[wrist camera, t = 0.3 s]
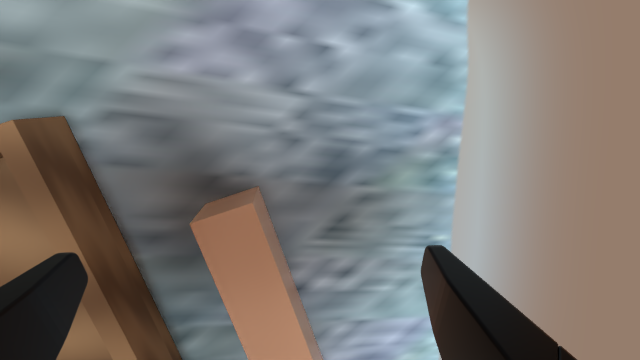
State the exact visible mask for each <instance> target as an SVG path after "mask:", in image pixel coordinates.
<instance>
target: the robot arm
mask: <svg viewBox="0 0 640 360" xmlns="http://www.w3.org/2000/svg"><path fill="white" fill-rule="evenodd" d="M421 277H422V282H423V287H424V292H425V297H426V301H427V306H428V311H429V316H430V321H431V325H432V330H433V333H434V337H435V340H436V343H437V346H438V349H439V352H440V355H441V358H442V360H577V359H576V358H575V357H573V356H572V355H571V354H570V353H569V352H567V351H566V350H565V349H564V348H563V347H562V346H558V344H557V342H555V341H554V340H553V339H552V338H551V337H550V336H548V335H547V334H546V333H545V332H544V331H543V330H541V329H540V328H539V327H538V326H536V324H534V323H533V322H532V321H531V320H530V319H528V318H527V317H526V316H525V315H524V314H523V313H521V312H520V311H519V310H518V309H517V308H516V307H514V306H513V305H512V304H511V303H509V301H507V300H506V299H505V298H504V297H503V296H501V295H500V294H499V293H498V292H497V291H496V290H494V289H493V288H492V287H491V286H490V285H489V284H487V283H486V282H485V281H484V280H482V278H480V277H479V276H478V275H477V274H476V273H474V272H473V271H472V270H471V269H470V268H468V267H467V266H466V265H465V264H464V263H463V262H461V261H460V260H459V259H458V258H457V257H456V256H454V255H453V254H452V253H451V252H450V251H449V250H447V249H446V248H445V247H444V246H441V245H429V246H427V247H426V248H425V251H424V256H423V261H422V266H421ZM87 283H88V274H87V272H86V270H85V268H84V266H83V264H82V262H81V260H80V258H79V256H78V255H77V254H76V253H73V252H63V253H57V254H54V255H53V256H51V257H49V258H48V259H46V260H44V261H43V262H41V263H39V264H38V265H36V266H34V267H33V268H31V269H29V270H28V271H26V272H24V273H23V274H21V275H19V276H18V277H16V278H14V279H13V280H11V281H9V282H7V283H6V284H4V285H2V286H1V287H0V360H56V359H57V357H58V355H59V353H60V351H61V349H62V347H63V345H64V342H65V340H66V338H67V336H68V333H69V331H70V328H71V326H72V323H73V320H74V318H75V315H76V313H77V310H78V307H79V305H80V302H81V299H82V297H83V294H84V292H85V289H86V286H87Z"/></svg>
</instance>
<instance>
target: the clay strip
mask: <svg viewBox="0 0 640 360" xmlns="http://www.w3.org/2000/svg"><path fill="white" fill-rule="evenodd" d="M190 226H191V229H192V231H193V233H194V236H195V238H196V240H197V242H198V245H199V247H200V249H201V252H202V254H203V256H204V259H205V261H206V263H207V265H208V268H209V270H210V272H211V275H212V277H213V279H214V282H215V284H216V286H217V288H218V291H219V293H220V295H221V298H222V300H223V302H224V305H225V307H226V309H227V311H228V314H229V316H230V318H231V321H232V323H233V325H234V328H235V330H236V332H237V334H238V337H239V339H240V341H241V344H242V346H243V348H244V351H245V353H246V355H247V357H248V360H323V358H322V355H321V352H320V350H319V347H318V344H317V342H316V339H315V336H314V334H313V331H312V328H311V326H310V323H309V320H308V318H307V315H306V312H305V310H304V307H303V304H302V302H301V299H300V296H299V294H298V291H297V288H296V286H295V283H294V280H293V278H292V275H291V272H290V270H289V267H288V264H287V262H286V259H285V256H284V254H283V251H282V248H281V246H280V243H279V240H278V238H277V235H276V232H275V230H274V227H273V224H272V222H271V219H270V216H269V214H268V211H267V208H266V205H265V203H264V200H263V197H262V195H261V192H260V189H259V187H258V186H257V187H254V188H251V189H248V190H245V191H242V192H239V193H236V194H233V195H230V196H227V197H224V198H221V199H218V200H215V201H212V202H209V203H206V204H205V205H204V206H203V207H202V209H201V210H200V211H199V212H198V214H197V215H196V216H195V217H194V219H193V220H192V221H191V222H190Z"/></svg>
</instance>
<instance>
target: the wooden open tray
mask: <svg viewBox="0 0 640 360" xmlns="http://www.w3.org/2000/svg"><path fill="white" fill-rule="evenodd" d="M63 252H73V253H76V254H77V255H78V256H79V258H80V260H81V262H82V264H83V266H84V268H85V270H86V272H87V274H88V283H87V286H86V289H85V292H84V294H83V297H82V299H81V302H80V305H79V307H78V310H77V313H76V315H75V318H74V320H73V323H72V326H71V328H70V331H69V333H68V336H67V338H66V340H65V342H64V345H63V347H62V349H61V351H60V353H59V355H58V357H57V359H56V360H182V358H181V356H180V354H179V352H178V350H177V348H176V346H175V344H174V342H173V340H172V338H171V336H170V334H169V331H168V329H167V327H166V325H165V323H164V321H163V319H162V317H161V315H160V313H159V311H158V309H157V307H156V305H155V303H154V301H153V299H152V296H151V294H150V292H149V290H148V288H147V286H146V284H145V282H144V280H143V278H142V276H141V274H140V272H139V270H138V268H137V266H136V263H135V261H134V259H133V257H132V255H131V253H130V251H129V249H128V247H127V245H126V243H125V241H124V239H123V237H122V235H121V233H120V231H119V228H118V226H117V224H116V222H115V220H114V218H113V216H112V214H111V212H110V210H109V208H108V206H107V204H106V202H105V200H104V198H103V196H102V193H101V191H100V189H99V187H98V185H97V183H96V181H95V179H94V177H93V175H92V173H91V171H90V169H89V167H88V165H87V163H86V161H85V158H84V156H83V154H82V152H81V150H80V148H79V146H78V144H77V142H76V140H75V138H74V136H73V134H72V132H71V130H70V128H69V126H68V123H67V121H66V119H65V117H64V116H61V117H47V118H33V119H19V120H11V121H8V122H5V123H2V124H0V287H1V286H2V285H4V284H6V283H7V282H9V281H11V280H13V279H14V278H16V277H18V276H19V275H21V274H23V273H24V272H26V271H28V270H29V269H31V268H33V267H34V266H36V265H38V264H39V263H41V262H43V261H44V260H46V259H48V258H49V257H51V256H53V255H54V254H57V253H63Z"/></svg>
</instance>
